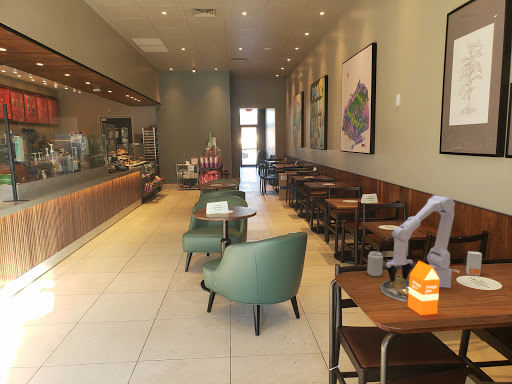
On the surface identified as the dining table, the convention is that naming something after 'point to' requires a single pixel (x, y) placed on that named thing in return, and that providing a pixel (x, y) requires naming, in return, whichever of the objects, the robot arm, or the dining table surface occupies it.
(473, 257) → the skincare box
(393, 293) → the carrier
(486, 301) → the dining table surface
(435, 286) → the orange juice
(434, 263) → the robot arm
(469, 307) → the dining table surface
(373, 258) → the can
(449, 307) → the dining table surface
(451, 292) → the dining table surface
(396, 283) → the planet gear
